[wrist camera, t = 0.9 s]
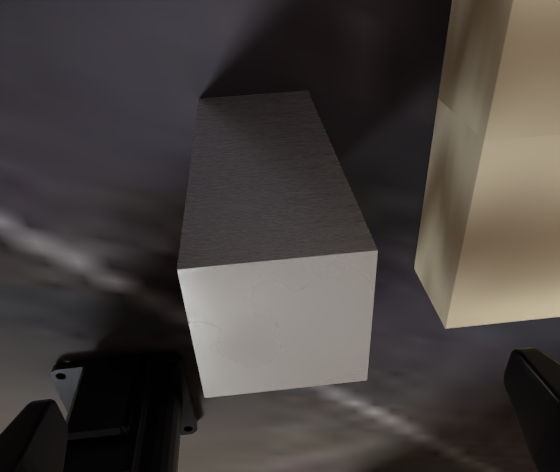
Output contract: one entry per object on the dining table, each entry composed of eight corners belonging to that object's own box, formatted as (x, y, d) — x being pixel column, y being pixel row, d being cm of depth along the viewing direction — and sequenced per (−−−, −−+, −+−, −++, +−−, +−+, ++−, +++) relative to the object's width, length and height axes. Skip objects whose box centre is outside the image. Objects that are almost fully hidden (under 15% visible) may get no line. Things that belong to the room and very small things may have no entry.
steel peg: (309, 185, 20) (366, 380, 12) (212, 194, 20) (204, 397, 12) (307, 90, 18) (377, 250, 10) (199, 98, 18) (176, 269, 10)
